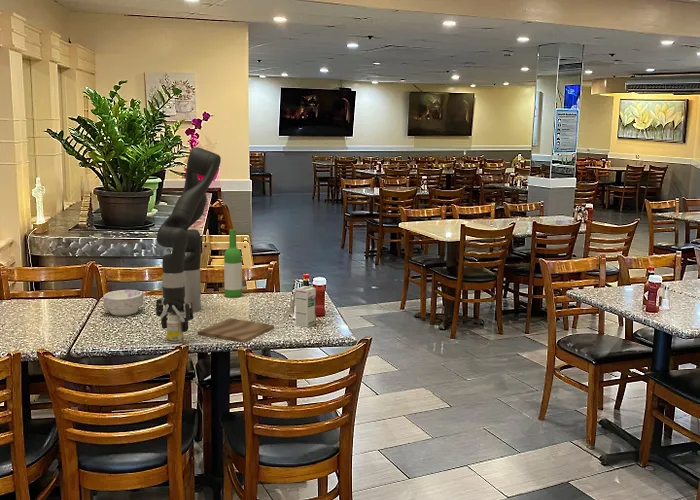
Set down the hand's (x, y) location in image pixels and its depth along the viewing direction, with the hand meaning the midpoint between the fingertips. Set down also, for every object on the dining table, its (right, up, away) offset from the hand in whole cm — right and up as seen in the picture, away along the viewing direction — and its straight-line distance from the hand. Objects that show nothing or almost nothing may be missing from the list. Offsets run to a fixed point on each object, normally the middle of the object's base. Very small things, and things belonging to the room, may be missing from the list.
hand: (174, 329), depth 236 cm
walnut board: (+19, -2, +14) cm, 24 cm away
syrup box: (+44, -1, +24) cm, 50 cm away
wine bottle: (+9, +7, +67) cm, 68 cm away
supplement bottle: (0, -4, +1) cm, 4 cm away
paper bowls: (-30, +2, +36) cm, 47 cm away
